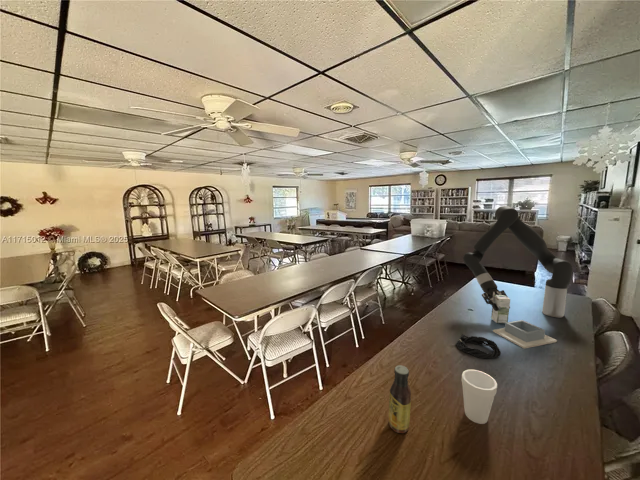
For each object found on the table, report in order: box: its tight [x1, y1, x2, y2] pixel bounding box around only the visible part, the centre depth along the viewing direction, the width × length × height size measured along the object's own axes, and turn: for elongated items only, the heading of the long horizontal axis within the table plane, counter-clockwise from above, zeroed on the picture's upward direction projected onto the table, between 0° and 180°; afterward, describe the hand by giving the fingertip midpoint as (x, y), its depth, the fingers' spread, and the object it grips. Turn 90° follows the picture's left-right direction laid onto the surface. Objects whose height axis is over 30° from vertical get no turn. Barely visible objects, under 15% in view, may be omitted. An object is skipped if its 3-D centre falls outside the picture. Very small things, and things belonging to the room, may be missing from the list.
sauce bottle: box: [388, 364, 412, 434], centre depth 78 cm, size 7×6×20 cm
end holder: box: [492, 319, 558, 350], centre depth 127 cm, size 20×16×6 cm
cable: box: [455, 334, 502, 359], centre depth 117 cm, size 17×14×4 cm
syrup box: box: [490, 295, 511, 324], centre depth 141 cm, size 6×6×14 cm
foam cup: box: [461, 369, 498, 425], centre depth 82 cm, size 10×9×13 cm
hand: (503, 309), depth 140 cm, fingers closed on syrup box, 7 cm apart
